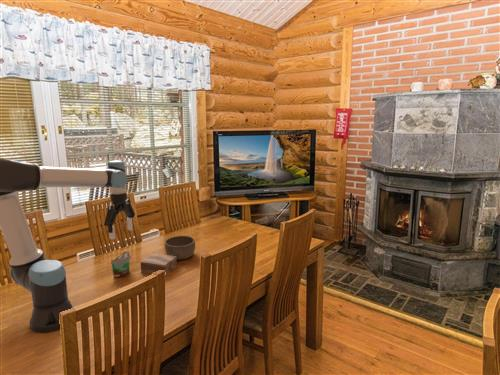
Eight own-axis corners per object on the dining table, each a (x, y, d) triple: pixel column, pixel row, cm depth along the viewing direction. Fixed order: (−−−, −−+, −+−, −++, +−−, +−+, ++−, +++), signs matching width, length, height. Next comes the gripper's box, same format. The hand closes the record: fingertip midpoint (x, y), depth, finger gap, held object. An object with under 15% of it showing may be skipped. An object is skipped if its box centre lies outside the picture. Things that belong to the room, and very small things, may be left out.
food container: (123, 280, 164) (121, 261, 163) (112, 279, 166) (110, 260, 164) (136, 269, 176) (135, 251, 174) (125, 268, 178) (124, 250, 176)
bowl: (174, 265, 181) (173, 248, 179) (159, 255, 195) (159, 239, 193) (201, 257, 192) (201, 241, 190) (186, 248, 206) (185, 233, 204)
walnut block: (165, 276, 169) (164, 265, 167) (141, 272, 173) (140, 261, 172) (176, 266, 180) (176, 256, 179) (154, 263, 184) (153, 253, 183)
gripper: (107, 198, 150) (110, 243, 154) (140, 188, 173) (142, 227, 178) (93, 197, 152) (97, 241, 156) (128, 187, 176) (130, 226, 180)
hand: (121, 234), depth 167 cm, fingers open, 13 cm apart
